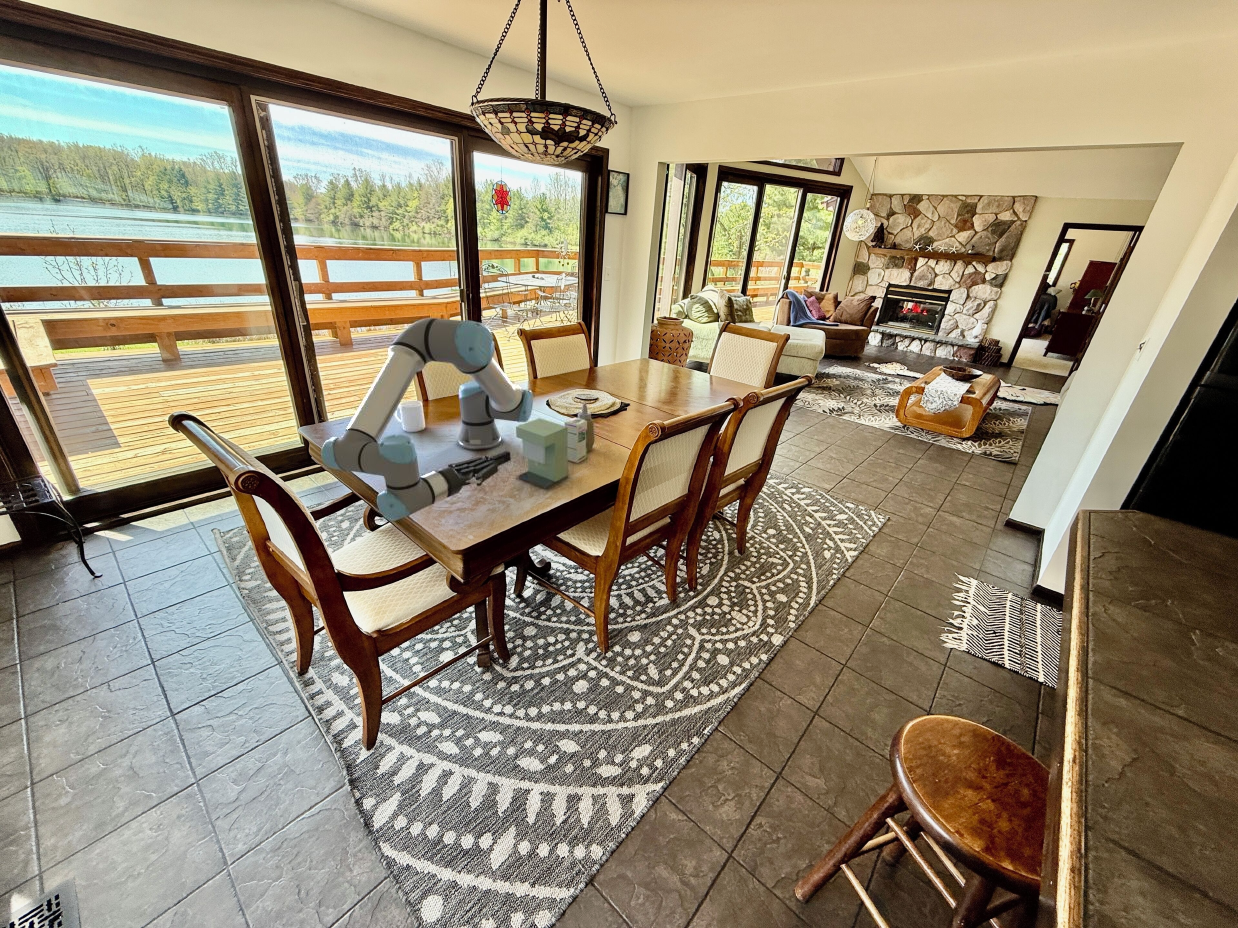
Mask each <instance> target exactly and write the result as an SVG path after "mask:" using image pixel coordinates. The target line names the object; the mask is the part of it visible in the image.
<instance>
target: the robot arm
mask: <svg viewBox="0 0 1238 928" xmlns="http://www.w3.org/2000/svg"><path fill="white" fill-rule="evenodd" d="M493 340H494V336H493V332H492V331H491V330H490V328H489V327H488V326H487V325H485V324H484V323H482V322H478V321H474V320H469V319H467V320H458V319H446V318H436V317H427V318H421V319H419V320H417V321H414V322H413V323H412V324H409V326H407V327H406V328H405V329H403V330H402V331H401V332H400V333H399V334H398V335H397V336H396V338H395V339H394V340H393V341H392V343H391V345H390V346H389V348H388V351H387V354H388V358H387V360H386V362H385V363H384V365H383V367H382V368H381V370H380V372H379V373H378V375H377V377H376V378H375V380H374V382H373V383H372V385H371V387H370V389H369V390H368V392H367V393H366V395H365V397H364V398H363V400H362V402H361V404H360V405H359V407H358V408H357V410H356V412H355V414H354V416H353V417H352V418H351V421H350V422H349V424H348V426H347V427H346V429H345V430H344V432H343V434H342V436H336V437H334V436H333V437H330V438H329V439H327V440H325V442H324V443H323V445H322V447H321V450H320V451H321V452H320V455H321V459H322V462H323V463H324V464H325V466H326V467H329V468H330V469H335V470H339V471H342V472H354V473H360V474H361V473H362V474H366V475H373V476H381V477H383V478H384V482H385V488H386V489H385V490H383V491H381V492H380V493H378V495H377V496H376V498H377V499H376V504H377V505H376V506H377V509H378V510H379V512H380V513H381V515H382V516H383V517H384V518H385V519H386V520H388V521H390V522H396V521H398V520H401V519H403V518H406V517H410V516H411V515H413V514H415V513H417V512H419V511H421V510H424V509H425V508H427V507H430V506H432V505H434V504H435V503H438V502H440V501H441V502H442V501H444V500H445V499H447V498H451V497H452V496H454V495H457V494H458V493H460V491H461V490H462V488H463V487H465V486H469V485H471V484H476V486H477V487H480V486H482V485H483V483H484V482H485V481H487V480H488V479H490V478H491V477H492V476H495V474H497V473H498V472H499V466H502V465H504V464H507V463H509V462H511V461H512V457H511V451H509V450H505V451H503V452H499V453H498V454H495V455H493V456H490V457H489V455H488V454H485V455H484V458H483V456H477V457H473V458H469V459H466V460H462V461H458V462H454V463H453V462H451V463H448V464H447V466H444V467H441V468H439V469H437V470H435V471H432V472H429V473H426V474H425V475H422V476H420V469H419V461H418V454H417V451H416V447H415V442H414V440H413V438H412V437H410V436H408V435H404V434H398V435H395V434H393V435H389V436H385V437H383V434H384V432H385V431H386V429H387V427H388V426H389V424H390V422H391V420H392V418H393V414H394V413H395V411H396V409H397V407H398V406H399V404H400V403H402V400H403V398H404V396H405V395H406V393H407V391H408V389H409V387H410V385H411V384H412V383H413V380H414V378H415V376H416V374H417V373H418V372H421V371H423V370H424V368H425V366H426V365H427V364H428V363H430V362H436V363H447V364H452V365H453V366H454V367H455V368H456V370H458V371H459V372H460V373H462V374H464V375H469V376H470V377H471V378H472V379H473V380H472V381H468V382H465V383H463V384H461V385H460V386H459V388H458V399H459V409H460V418H461V426H460V430H459V434H458V446H460V447H461V448H462V449H466V450H470V451H482V450H490V449H492V448H495V447H497V446H499V445H500V444H501V442H502V437H501V433H500V431H499V429H498V427H497V424H496V422H495V420H499V421H508V422H509V421H510V422H517V423H527V422H529V419H530V418H531V415H532V412H533V406H534V405H533V404H534V395H533V392H532V390H530V389H527V388H525V389H523V388H521V386H520V385H519V384H518V383H517V382H515V381H513V380H510V379H509V377H507V375H506V374H505V373H504V371H503V369H502V368H501V367H500V365H499V364H498V362H496V360H495V359H494V355H495V349H496V347H495V341H493ZM382 437H383V438H382Z"/></svg>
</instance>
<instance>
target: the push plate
mask: <svg viewBox="0 0 1238 928" xmlns="http://www.w3.org/2000/svg"><path fill="white" fill-rule="evenodd" d="M521 445H522V457H524V458H527V459H528V458H529V459H531V460H534V461H537V462H539V463H542V464H545V447H543V446H540V445H537V444H534V443H532V442H529V441H526V440H523V439H521Z"/></svg>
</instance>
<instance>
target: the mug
mask: <svg viewBox="0 0 1238 928" xmlns="http://www.w3.org/2000/svg"><path fill="white" fill-rule="evenodd" d="M398 411H399V412H400V419H399V417H398V415H397V413H398ZM392 418H393V419H394V420H395V422H396V423H397V424H401V426H402V429H403V431H404V432H408V433H416V432H420V431H423V430H424V429H425V428H426V420H425V413H424V407H423V402H422V401H421V400H405V401H401V402H400V404H399V405H398V407H397V409H396V411H395V413H394V414H393V416H392Z"/></svg>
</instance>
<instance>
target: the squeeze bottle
mask: <svg viewBox="0 0 1238 928" xmlns="http://www.w3.org/2000/svg"><path fill="white" fill-rule="evenodd" d="M577 418H581V419H584V420H587V453H589V452H591V451H592V449H593V447H594V444H595V442H596V440H595V427H594V419H593V418H592V413H591V411H589V410H588V405H587V403H586V402H582V406H581V410H580V411H578V413H577Z"/></svg>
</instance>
